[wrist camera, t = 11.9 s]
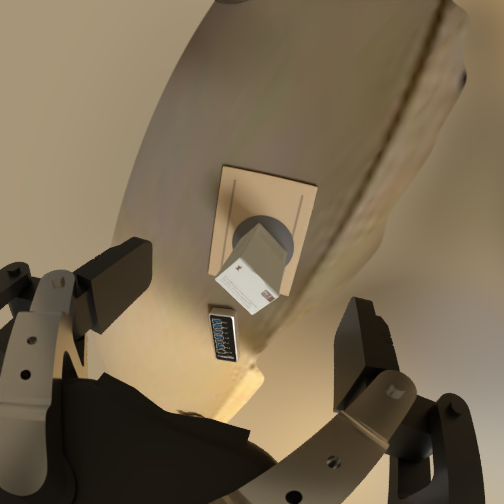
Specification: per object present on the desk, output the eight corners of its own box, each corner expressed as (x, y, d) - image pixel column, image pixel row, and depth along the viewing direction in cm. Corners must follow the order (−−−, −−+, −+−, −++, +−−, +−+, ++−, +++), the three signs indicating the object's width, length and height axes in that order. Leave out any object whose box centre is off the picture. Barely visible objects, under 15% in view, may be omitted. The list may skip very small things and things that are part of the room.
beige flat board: (224, 165, 37) (222, 166, 36) (317, 186, 35) (317, 187, 35) (209, 272, 44) (208, 274, 43) (288, 294, 42) (288, 296, 42)
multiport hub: (237, 308, 46) (233, 316, 44) (240, 355, 50) (237, 363, 48) (212, 306, 47) (208, 313, 45) (219, 351, 51) (215, 359, 49)
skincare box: (239, 239, 40) (209, 279, 29) (261, 220, 38) (237, 254, 27) (268, 270, 41) (249, 318, 30) (290, 252, 39) (279, 297, 28)
